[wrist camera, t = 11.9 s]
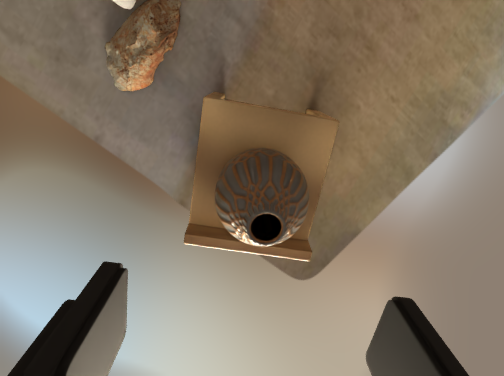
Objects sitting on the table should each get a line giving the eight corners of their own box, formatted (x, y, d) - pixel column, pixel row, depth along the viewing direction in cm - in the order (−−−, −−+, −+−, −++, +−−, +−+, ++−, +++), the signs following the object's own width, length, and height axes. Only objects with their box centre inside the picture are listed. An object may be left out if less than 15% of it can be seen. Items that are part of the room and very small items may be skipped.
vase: (309, 201, 27) (338, 257, 18) (236, 226, 27) (233, 291, 19) (284, 127, 24) (305, 153, 16) (205, 157, 25) (186, 197, 17)
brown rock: (199, 20, 30) (156, -25, 27) (203, 22, 27) (156, -28, 24) (135, 98, 32) (90, 64, 30) (133, 109, 29) (82, 71, 26)
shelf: (213, 91, 31) (200, 98, 22) (317, 110, 32) (348, 125, 22) (199, 199, 35) (183, 244, 26) (292, 213, 36) (309, 261, 26)
